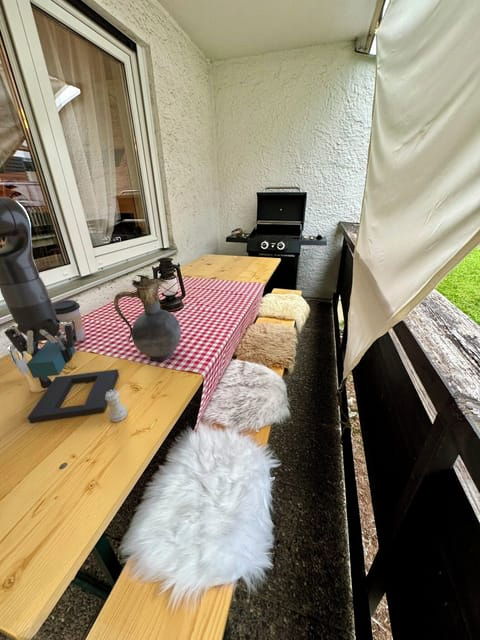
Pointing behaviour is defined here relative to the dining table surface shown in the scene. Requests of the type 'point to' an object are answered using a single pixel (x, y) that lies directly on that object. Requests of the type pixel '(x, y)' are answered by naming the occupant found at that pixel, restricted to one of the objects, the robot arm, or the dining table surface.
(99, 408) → the dark grey rectangular frame
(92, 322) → the dining table surface
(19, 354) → the beer glass
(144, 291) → the pitcher
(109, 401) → the rook chess piece
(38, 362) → the block
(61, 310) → the coffee cup
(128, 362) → the dining table surface
